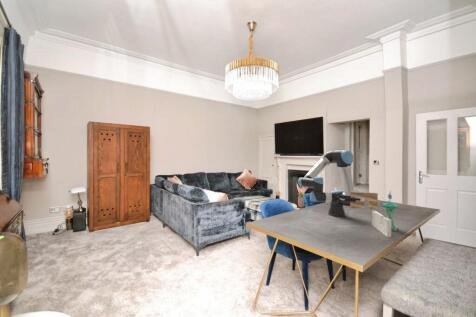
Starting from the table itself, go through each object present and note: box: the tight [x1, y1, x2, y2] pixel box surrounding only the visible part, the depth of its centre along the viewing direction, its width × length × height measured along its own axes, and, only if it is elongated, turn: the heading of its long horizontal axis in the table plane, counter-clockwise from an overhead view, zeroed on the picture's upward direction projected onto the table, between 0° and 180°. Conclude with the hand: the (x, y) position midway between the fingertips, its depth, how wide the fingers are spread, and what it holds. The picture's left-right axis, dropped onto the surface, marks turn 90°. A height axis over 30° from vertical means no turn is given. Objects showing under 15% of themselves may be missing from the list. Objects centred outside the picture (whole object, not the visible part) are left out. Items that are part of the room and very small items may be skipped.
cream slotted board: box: [371, 210, 392, 238], centre depth 165 cm, size 26×2×12 cm, turn 169°
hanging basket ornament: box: [381, 190, 399, 232], centre depth 170 cm, size 11×11×30 cm
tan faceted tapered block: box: [349, 191, 379, 211], centre depth 164 cm, size 2×18×12 cm, turn 78°
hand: (363, 199), depth 163 cm, fingers closed on tan faceted tapered block, 2 cm apart
